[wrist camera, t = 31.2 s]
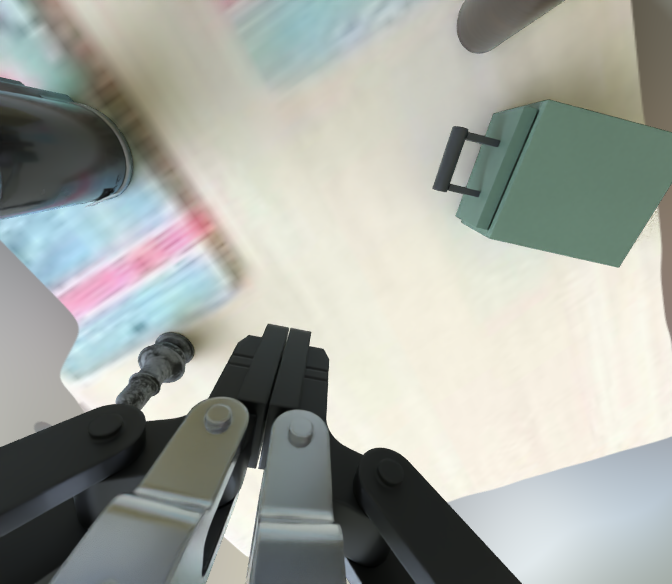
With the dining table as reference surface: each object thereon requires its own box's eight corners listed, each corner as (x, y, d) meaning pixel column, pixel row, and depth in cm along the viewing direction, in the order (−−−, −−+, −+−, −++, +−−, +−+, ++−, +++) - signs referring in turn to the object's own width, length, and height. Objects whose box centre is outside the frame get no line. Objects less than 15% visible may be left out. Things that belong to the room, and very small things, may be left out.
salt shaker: (144, 338, 43) (77, 402, 32) (181, 324, 42) (124, 386, 31) (169, 370, 45) (114, 441, 34) (204, 358, 44) (159, 427, 33)
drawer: (416, 207, 34) (430, 217, 29) (449, 102, 30) (472, 91, 25) (557, 239, 36) (595, 254, 30) (608, 143, 31) (661, 141, 26)
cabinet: (460, 222, 36) (488, 238, 29) (503, 110, 31) (548, 98, 24) (567, 246, 37) (619, 268, 30) (624, 142, 32) (700, 139, 25)
